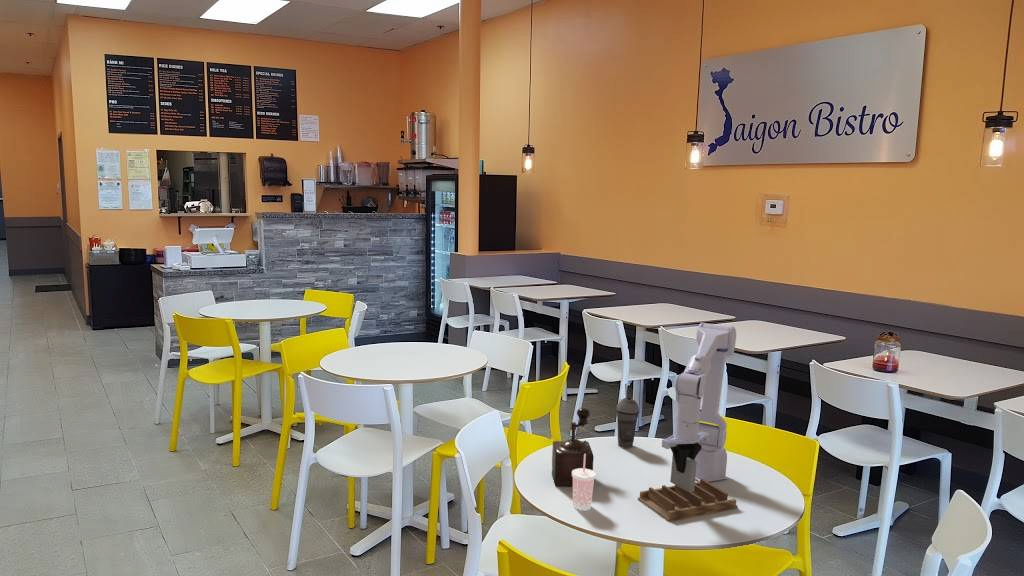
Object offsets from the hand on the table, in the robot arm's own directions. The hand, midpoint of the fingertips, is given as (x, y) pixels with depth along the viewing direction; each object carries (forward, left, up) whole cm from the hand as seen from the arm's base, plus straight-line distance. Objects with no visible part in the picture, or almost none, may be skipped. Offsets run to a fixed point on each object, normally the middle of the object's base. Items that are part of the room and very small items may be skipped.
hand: (683, 470), depth 184 cm
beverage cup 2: (-10, -41, -10) cm, 43 cm away
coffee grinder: (+18, -26, -10) cm, 33 cm away
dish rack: (-2, 0, -9) cm, 10 cm away
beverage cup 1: (+25, -8, -10) cm, 28 cm away
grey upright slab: (0, 0, -4) cm, 4 cm away
